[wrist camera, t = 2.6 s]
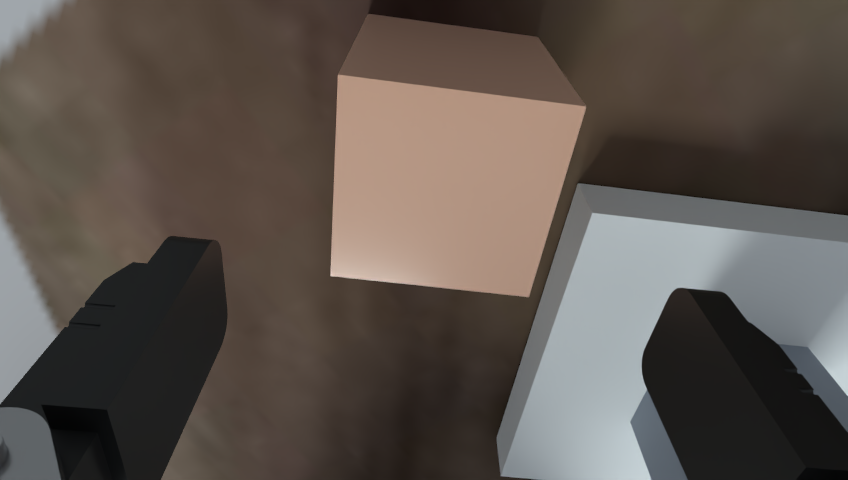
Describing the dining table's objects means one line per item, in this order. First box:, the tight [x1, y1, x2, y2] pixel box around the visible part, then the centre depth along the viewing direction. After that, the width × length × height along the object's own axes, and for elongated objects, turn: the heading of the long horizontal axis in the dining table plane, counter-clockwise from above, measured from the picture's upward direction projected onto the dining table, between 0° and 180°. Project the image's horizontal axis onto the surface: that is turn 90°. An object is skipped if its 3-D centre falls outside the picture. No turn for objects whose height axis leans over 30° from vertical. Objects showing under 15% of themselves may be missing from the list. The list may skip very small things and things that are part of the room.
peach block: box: [331, 14, 586, 297], centre depth 15 cm, size 5×5×6 cm
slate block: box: [630, 344, 848, 480], centre depth 18 cm, size 5×5×6 cm
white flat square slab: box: [496, 183, 848, 480], centre depth 22 cm, size 14×14×2 cm
